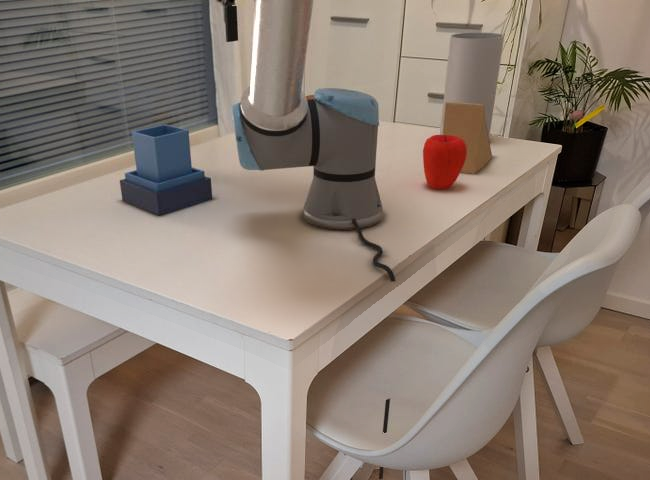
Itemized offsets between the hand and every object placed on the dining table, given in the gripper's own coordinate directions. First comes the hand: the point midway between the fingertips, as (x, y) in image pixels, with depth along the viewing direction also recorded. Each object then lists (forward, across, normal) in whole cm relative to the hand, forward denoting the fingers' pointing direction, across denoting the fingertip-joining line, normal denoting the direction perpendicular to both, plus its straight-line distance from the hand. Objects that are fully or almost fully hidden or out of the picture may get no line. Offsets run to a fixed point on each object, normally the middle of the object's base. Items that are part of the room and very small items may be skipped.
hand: (254, 43), depth 137 cm
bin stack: (+29, +6, +21) cm, 36 cm away
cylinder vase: (+29, -14, -60) cm, 68 cm away
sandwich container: (+29, -26, -43) cm, 58 cm away
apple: (+29, -32, -25) cm, 49 cm away
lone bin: (+27, +6, +21) cm, 35 cm away
